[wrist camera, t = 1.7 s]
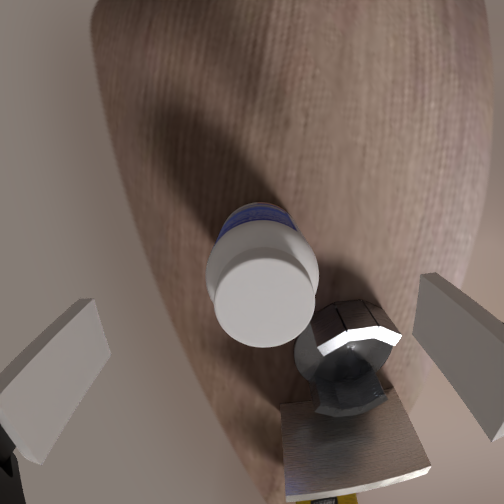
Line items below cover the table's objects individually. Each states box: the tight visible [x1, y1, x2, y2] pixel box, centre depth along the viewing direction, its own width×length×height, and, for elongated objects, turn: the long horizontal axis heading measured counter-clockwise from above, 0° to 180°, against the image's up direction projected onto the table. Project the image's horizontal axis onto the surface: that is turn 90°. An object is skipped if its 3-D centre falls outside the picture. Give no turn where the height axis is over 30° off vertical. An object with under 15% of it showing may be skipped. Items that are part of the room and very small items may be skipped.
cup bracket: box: [280, 299, 431, 502], centre depth 19 cm, size 11×11×10 cm
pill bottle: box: [206, 202, 319, 348], centre depth 16 cm, size 5×5×10 cm
